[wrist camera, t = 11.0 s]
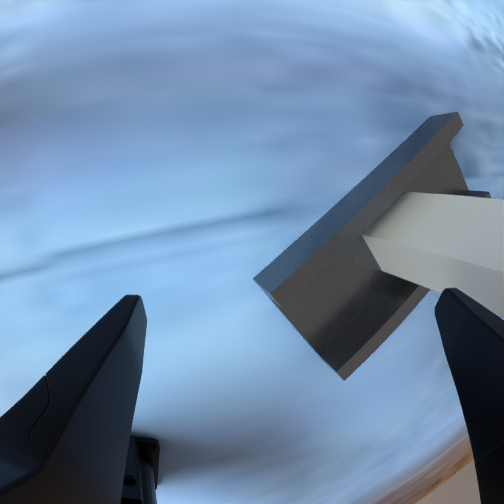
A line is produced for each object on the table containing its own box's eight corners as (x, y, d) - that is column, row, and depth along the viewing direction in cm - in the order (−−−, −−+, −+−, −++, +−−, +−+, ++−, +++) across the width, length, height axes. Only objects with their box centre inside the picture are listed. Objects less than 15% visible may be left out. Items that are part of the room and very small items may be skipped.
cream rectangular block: (382, 270, 22) (520, 325, 11) (361, 234, 21) (514, 275, 10) (420, 227, 23) (553, 256, 12) (403, 191, 22) (547, 205, 10)
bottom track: (323, 360, 23) (344, 380, 20) (252, 278, 20) (269, 293, 17) (467, 200, 25) (492, 203, 22) (430, 116, 22) (457, 112, 19)
